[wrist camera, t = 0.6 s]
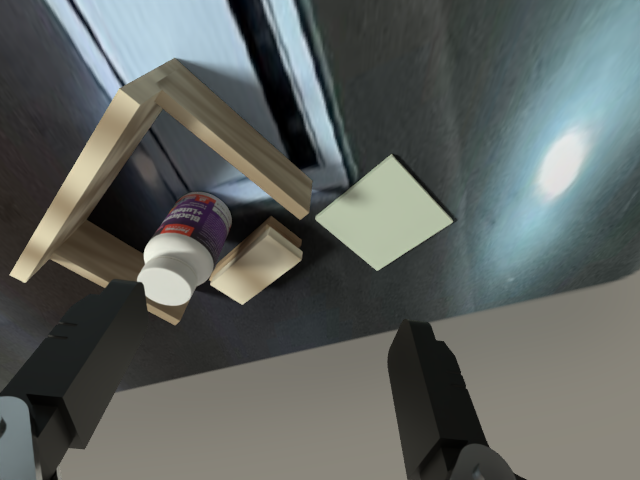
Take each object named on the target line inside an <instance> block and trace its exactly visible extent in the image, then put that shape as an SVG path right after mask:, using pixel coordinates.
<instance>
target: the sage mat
mask: <svg viewBox="0 0 640 480" xmlns="http://www.w3.org/2000/svg"><path fill="white" fill-rule="evenodd" d="M315 220H316V221H318V222H319V223H320V224H321V225H322V226H324V227H325V228H326V229H327V230H328V231H330V232H331V233H332V234H333V235H334V236H336V237H337V238H338V239H339V240H340V241H342V242H343V243H344V244H345V245H346V246H348V247H349V248H350V249H351V250H352V251H354V252H355V253H356V254H357V255H359V256H360V257H361V258H362V259H363V260H365V261H366V262H367V263H368V264H369V265H371V266H372V267H373V268H374V269H375V270H377V271H378V270H380V269H381V268H383V267H384V266H386V265H387V264H389V263H390V262H392V261H394V260H395V259H397V258H398V257H400V256H401V255H403V254H404V253H406V252H408V251H409V250H411V249H412V248H414V247H415V246H417V245H418V244H420V243H422V242H423V241H425V240H426V239H428V238H429V237H431V236H432V235H434V234H436V233H437V232H439V231H440V230H442V229H443V228H445V227H446V226H448V225H450V224H451V223H453V220H452V218H451V217H450V216H449V215H448V214H447V213H446V212H445V211H444V210H443V209H442V208H441V207H440V205H439V204H438V203H437V202H436V201H435V200H434V199H433V198H432V197H431V196H430V195H429V194H428V193H427V191H426V190H425V189H424V188H423V187H422V186H421V185H420V184H419V183H418V182H417V181H416V180H415V178H414V177H413V176H412V175H411V174H410V173H409V172H408V171H407V170H406V169H405V168H404V167H403V166H402V164H401V163H400V162H399V161H398V160H397V159H396V158H395V157H394V156H393V155H392V154H391V155H390V156H388V157H387V158H386V159H385V160H384V161H382V162H381V163H380V164H379V165H378V166H376V167H375V168H374V169H373V170H371V171H370V172H369V173H368V174H367V175H365V176H364V177H363V178H362V179H361V180H359V181H358V182H357V183H356V184H354V185H353V186H352V187H351V188H350V189H348V190H347V191H346V192H345V193H344V194H342V195H341V196H340V197H339V198H337V199H336V200H335V201H334V202H333V203H331V204H330V205H329V206H328V207H326V208H325V209H324V210H323V211H322V212H320V213H319V214H318V215H317V216H316V217H315Z"/></svg>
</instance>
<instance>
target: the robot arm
mask: <svg viewBox="0 0 640 480" xmlns="http://www.w3.org/2000/svg"><path fill="white" fill-rule="evenodd" d="M147 326H148V310H147V303H146V296H145V289H144V285H143V283H142V282H136V281H129V280H121V279H113V280H111V281H110V282H109V284H108V285H107V286H106V288H105V289H104V290H103V292H102V293H101V294H100V295H94V294H89V295H88V296H86V297H85V298H83V299H82V300H80V301H79V302H77V303H76V304H74V305H73V306H71V308H70V309H69V310H68V311H67V313H66V314H65V315H64V316H63V317H62V319H61V320H60V321H59V324H58V325H56V326H55V327H54V328H53V330H52V331H51V332H50V333H49V335H48V338H45V339H44V341H43V342H42V343H41V344H40V346H39V347H38V348H37V349H36V350H35V352H34V353H33V354H32V355H31V357H30V358H29V359H28V360H27V361H26V363H25V364H24V365H23V366H22V368H21V369H20V370H19V371H18V372H17V374H16V375H15V376H14V377H13V379H12V380H11V381H10V382H9V383H8V385H7V386H6V387H5V388H4V389H3V390H2V392H1V393H0V480H62V478H61V472H60V466H59V464H60V462H61V460H62V459H63V457H64V455H65V453H66V451H67V450H68V448H76V449H85V448H86V446H87V444H88V442H89V440H90V438H91V436H92V435H93V433H94V431H95V429H96V427H97V425H98V423H99V421H100V419H101V417H102V415H103V414H104V412H105V410H106V408H107V406H108V404H109V402H110V400H111V399H112V397H113V395H114V393H115V391H116V389H117V387H118V385H119V384H120V382H121V380H122V378H123V376H124V374H125V372H126V370H127V368H128V367H129V365H130V363H131V361H132V359H133V357H134V355H135V353H136V351H137V349H138V348H139V346H140V344H141V342H142V340H143V338H144V336H145V333H146V330H147ZM388 372H389V377H390V383H391V389H392V394H393V400H394V406H395V412H396V417H397V423H398V429H399V434H400V440H401V446H402V451H403V457H404V463H405V468H406V474H407V479H408V480H526V479H524V478H522V477H520V476H518V475H516V474H515V473H513V471H512V470H511V468H510V467H509V465H508V464H507V463H506V461H505V460H504V459H503V458H502V457H501V456H500V455H499V454H498V453H496V452H495V451H494V450H492V449H491V448H490V447H489V445H488V443H487V441H486V438H485V436H484V433H483V430H482V428H481V425H480V422H479V419H478V417H477V414H476V411H475V409H474V406H473V403H472V401H471V398H470V395H469V392H468V390H467V389H466V385H465V382H464V379H463V376H462V375H461V371H460V368H459V365H458V363H457V360H456V357H455V355H454V354H453V353H452V352H451V350H450V349H449V348H448V346H447V345H446V344H445V342H444V341H437V340H436V339H435V336H434V333H433V330H432V327H431V325H430V324H429V323H428V322H423V321H415V320H408V319H404V320H403V321H402V323H401V325H400V327H399V330H398V332H397V334H396V336H395V338H394V340H393V343H392V344H391V347H390V349H389V353H388Z"/></svg>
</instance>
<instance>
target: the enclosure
mask: <svg viewBox="0 0 640 480" xmlns="http://www.w3.org/2000/svg"><path fill="white" fill-rule="evenodd" d="M163 109H164V110H165V111H166V112H167V113H169V114H170V115H171V116H172V117H174V118H175V119H176V120H177V121H179V122H180V123H181V124H182V125H183V126H185V127H186V128H187V129H188V130H190V131H191V132H192V133H193V134H195V135H196V136H197V137H198V138H200V139H201V140H202V141H203V142H204V143H206V144H207V145H208V146H209V147H211V148H212V149H213V150H214V151H216V152H217V153H218V154H219V155H220V156H222V157H223V158H224V159H225V160H227V161H228V162H229V163H230V164H232V165H233V166H234V167H235V168H237V169H238V170H239V171H240V172H241V173H243V174H244V175H245V176H246V177H248V178H249V179H250V180H251V181H253V182H254V183H255V184H256V185H257V186H259V187H260V188H261V189H262V190H264V191H265V192H266V193H267V194H269V195H270V196H271V197H272V198H274V199H275V200H276V201H277V202H278V203H280V204H281V205H282V206H283V207H285V208H286V209H287V210H288V211H290V212H291V213H292V214H293V215H295V216H296V217H297V218H298V219H299V220H301V219H302V218H303V217H304V216H306V215H307V214H308V213H309V208H310V200H311V191H312V182H313V181H312V180H311V179H310V178H309V177H307V176H306V175H305V174H304V173H303V172H302V171H301V170H300V169H299V168H297V167H296V166H295V165H294V164H293V163H292V162H291V161H290V160H288V159H287V158H286V157H285V156H284V155H283V154H282V153H281V152H279V151H278V150H277V149H276V148H275V147H274V146H273V145H272V144H271V143H269V142H268V141H267V140H266V139H265V138H264V137H263V136H262V135H260V134H259V133H258V132H257V131H256V130H255V129H254V128H253V127H251V126H250V125H249V124H248V123H247V122H246V121H245V120H244V119H242V118H241V117H240V116H239V115H238V114H237V113H236V112H235V111H234V110H232V109H231V108H230V107H229V106H228V105H227V104H226V103H225V102H223V101H222V100H221V99H220V98H219V97H218V96H217V95H216V94H214V93H213V92H212V91H211V90H210V89H209V88H208V87H207V86H206V85H204V84H203V83H202V82H201V81H200V80H199V79H198V78H197V77H195V76H194V75H193V74H192V73H191V72H190V71H189V70H188V69H186V68H185V67H184V66H183V65H182V64H181V63H180V62H179V61H177V60H176V59H175V58H174V59H172V60H170V61H168V62H166V63H165V64H163V65H161V66H159V67H157V68H156V69H154V70H152V71H150V72H148V73H146V74H145V75H143V76H141V77H139V78H137V79H136V80H134V81H132V82H130V83H128V84H127V85H125V86H123V87H121V88H119V90H118V92H117V93H116V95H115V97H114V98H113V100H112V102H111V103H110V105H109V107H108V109H107V110H106V112H105V114H104V115H103V117H102V119H101V120H100V122H99V124H98V126H97V127H96V129H95V131H94V132H93V134H92V136H91V137H90V139H89V141H88V143H87V144H86V146H85V148H84V149H83V151H82V153H81V154H80V156H79V158H78V160H77V161H76V163H75V165H74V166H73V168H72V170H71V171H70V173H69V175H68V177H67V178H66V180H65V182H64V183H63V185H62V187H61V188H60V190H59V192H58V193H57V195H56V197H55V199H54V200H53V202H52V204H51V205H50V207H49V209H48V210H47V212H46V214H45V216H44V217H43V219H42V221H41V222H40V224H39V226H38V227H37V229H36V231H35V233H34V234H33V236H32V238H31V239H30V241H29V243H28V244H27V246H26V248H25V250H24V251H23V253H22V255H21V256H20V258H19V260H18V261H17V263H16V265H15V267H14V268H13V270H12V272H11V273H10V276H12V277H14V278H16V279H19V280H21V281H23V282H25V283H26V282H27V281H28V280H29V279H30V278H31V277H32V276H33V275H34V274H35V273H36V272H37V271H38V270H39V269H40V268H41V267H42V266H43V265H44V264H45V263H46V262H47V261H48V260H49V259H51V260H53V261H55V262H57V263H59V264H61V265H63V266H65V267H66V268H68V269H70V270H72V271H74V272H76V273H78V274H80V275H81V276H83V277H85V278H87V279H89V280H91V281H93V282H95V283H97V284H98V285H100V286H102V287H104V288H106V286H107V285H108V284H109V282H110V281H111V280H113V279H121V280H129V281H136V282H137V278H138V275H139V273H140V272H141V270H142V268H143V267H144V265H145V261H144V254H143V253H141V252H139V251H138V250H136V249H134V248H133V247H131V246H129V245H128V244H126V243H124V242H123V241H121V240H119V239H118V238H116V237H114V236H113V235H111V234H109V233H108V232H106V231H104V230H103V229H101V228H99V227H98V226H96V225H94V224H93V223H91V222H89V221H88V220H86V219H87V218H88V217H89V215H90V214H91V212H92V211H93V209H94V208H95V206H96V205H97V204H98V202H99V201H100V199H101V198H102V196H103V195H104V193H105V192H106V191H107V189H108V188H109V186H110V185H111V183H112V182H113V180H114V179H115V178H116V176H117V175H118V173H119V172H120V170H121V169H122V167H123V166H124V165H125V163H126V162H127V160H128V159H129V157H130V156H131V154H132V153H133V151H134V150H135V149H136V147H137V146H138V144H139V143H140V141H141V140H142V138H143V137H144V136H145V134H146V133H147V131H148V130H149V128H150V127H151V125H152V124H153V123H154V121H155V120H156V118H157V117H158V115H159V114H160V112H161V111H162V110H163ZM189 300H190V299H189ZM189 300H188V301H187V302H186V303H184V304H182V305H177V306H169V305H164V304H160V303H157V302H155V301H153V300H151V299H149V298H148V297H147V296H146V303H147V310H148V311H149V312H151V313H153V314H155V315H157V316H159V317H160V318H162V319H164V320H166V321H168V322H170V323H172V324H174V325H176V324H177V323H178V322H179V321H180V320H181V318H182V316H183V313H184V311H185V309H186V306H187V304H188V302H189Z"/></svg>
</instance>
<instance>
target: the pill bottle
mask: <svg viewBox="0 0 640 480" xmlns="http://www.w3.org/2000/svg"><path fill="white" fill-rule="evenodd" d="M231 224H232V217H231V213H230V211H229V209H228V207H227V206H226V205H225V204H224V203H223V202H222V201H221V200H220V199H219V198H217V197H215V196H213V195H211V194H209V193H205V192H191V193H187V194H185V195H184V196H182V197H181V198H180V199H179V200H178V201H177V202H176V204H175V205H174V207H173V208H172V210H171V211H170V212H169V214H168V215H167V217H166V218H165V220H164V221H163V222H162V224H161V225H160V227H159V228H158V229H157V231H156V232H155V234H154V235H153V236H152V238H151V239H150V241H149V242H148V244H147V246H146V248H145V250H144V261H145V265H144V267H143V268H142V270H141V272H140V273H139V275H138V278H137V282H142V283H143V285H144V289H145V296H147V297H148V298H149V299H151V300H153V301H155V302H157V303H160V304H164V305H169V306H177V305H182V304H184V303H186V302H187V301H188V300H189V299H190V298H191V296H192V294H193V292H194V290H195V289H196V286H199V285H201V284H202V283H204V282H205V281H206V280H207V279H208V278H209V277H210V275H211V273H212V271H213V269H214V266H215V264H216V262H217V259H218V257H219V254H220V252H221V250H222V247H223V245H224V242H225V240H226V238H227V235H228V233H229V231H230V228H231Z"/></svg>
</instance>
